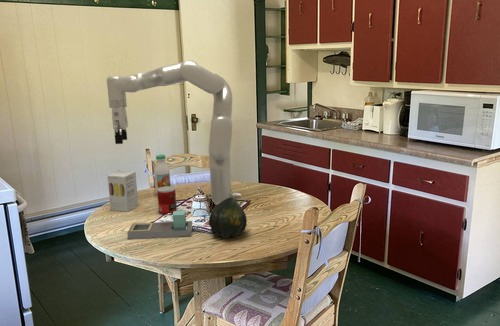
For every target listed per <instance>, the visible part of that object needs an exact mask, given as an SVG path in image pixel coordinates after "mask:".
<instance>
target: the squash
mask: <svg viewBox="0 0 500 326" xmlns="http://www.w3.org/2000/svg"><path fill="white" fill-rule="evenodd" d="M247 221H248V220H247V215H246V213H245V210H244V209H243V208H242V206H241V204H239V203H238V202H237V200H236V199H235V200H234V199H233V197H231V198H227V199H225V200H224V201H222V202H220V203H219V204H218V205H214V207H213V209H212V210H211V213H210V215H209V218H208V225H209V227H210V230H211V231H212V233H214V234H216V235H220V236H222V238H224V239H229V238H230V237H232V238H235V237H237V236H238V235H239V234H242V233H243V232H244V231H245V229H246V227H247V225H248V224H247Z"/></svg>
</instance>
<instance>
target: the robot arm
mask: <svg viewBox="0 0 500 326" xmlns="http://www.w3.org/2000/svg"><path fill="white" fill-rule="evenodd" d="M185 82H188V83H190V84H192V85H193V86H195V87H197V88H198V89H200V90H202V91H203V92H206V93H208V94H212V96H213V105H212V106H213V107H212V108H213V109H212V117H211V121H210V129H209V130H210V131H209V143H208V153H209V175H210V195H211V197H209V198H212V200H213V201H214V204H215V205H214V206H217V205H218V204H219V203H220V202H222V201H224V200H225V199H227V198H231V197H233V199H234V200H235V201H236V199H235V198H237V199H239V198H240V199H241V198H242V197H241V195H242V194H241V193H239V192H233V191H232V181H231V179H232V177H231V176H232V175H231V156H230V155H231V147H232V146H231V145H232V135H233V122H232V111H233V93H232V88H231V86H230V85H229V83H228V81H227V80H226V79H224V77H222V76H220V75H219V74H217V73H215V72H214V73H213V72H212V71H210V70H208V69H206V68H204V67H203V66H201V65H199V64H198V63H197V62H196V61H194V60H191V59H190V60H186V61H181V62H177V63H172V64H168V65H163V66H160V67H158V68H155V69H153V70H149V71H144V72H140V73H135V74H131V75H125V76H121V75H110V76H107V78H106V85H107V86H106V87H107V95H108V96H107V97H108V105H109V106H108V107H109V108H110V109H111V120H112V128H113V130H114V143H115V145H123V144H124V141H127V140H128V132H127V129H128V127H129V123H128V116H127V115H128V114H127V107H128V106H127V105H128V104H127V103H128V102H127V94H126V93H131V94H132V93H133V94H135V93H137V92H139V91H143V90H147V89H151V88H157V87H167V86H168V87H169V86H172V85H175V84H180V83H185Z"/></svg>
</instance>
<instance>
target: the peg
mask: <svg viewBox="0 0 500 326" xmlns="http://www.w3.org/2000/svg"><path fill="white" fill-rule="evenodd" d="M186 221H187V216H186V210H176V211H174V213H173V214H172V222H173V227H174V229H186Z"/></svg>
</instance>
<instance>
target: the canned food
mask: <svg viewBox="0 0 500 326" xmlns="http://www.w3.org/2000/svg"><path fill="white" fill-rule="evenodd" d="M157 194H158V195H157ZM157 194H156V195H157V203H158V213H159V214H160V215H164V214H168V213H173V212H174V211H178V210H177V198H176V197H177V196H176V194H177V193H176V187H175V186H165V187H160V188H158V189H157ZM164 216H165V215H164Z"/></svg>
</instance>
